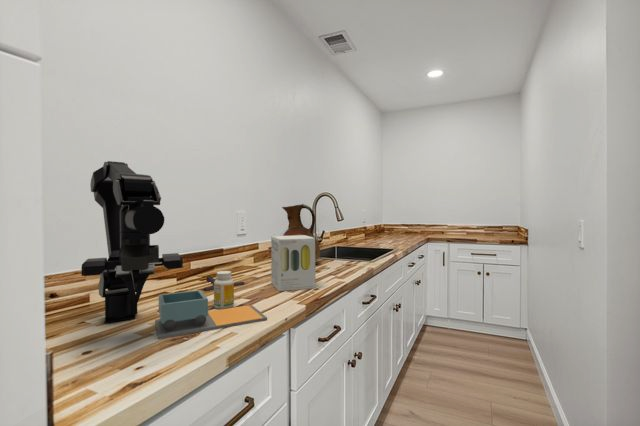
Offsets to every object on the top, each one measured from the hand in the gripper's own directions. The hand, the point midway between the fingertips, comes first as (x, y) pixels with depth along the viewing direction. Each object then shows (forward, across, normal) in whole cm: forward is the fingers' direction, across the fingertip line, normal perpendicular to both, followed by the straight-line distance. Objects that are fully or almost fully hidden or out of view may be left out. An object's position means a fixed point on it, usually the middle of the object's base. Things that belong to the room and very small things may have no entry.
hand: (135, 302), depth 72 cm
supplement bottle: (+7, +22, +11) cm, 25 cm away
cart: (+7, +10, 0) cm, 12 cm away
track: (+7, +16, 0) cm, 17 cm away
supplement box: (+7, +48, +24) cm, 55 cm away
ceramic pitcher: (+7, +70, +64) cm, 95 cm away
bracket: (+8, +26, +40) cm, 48 cm away
